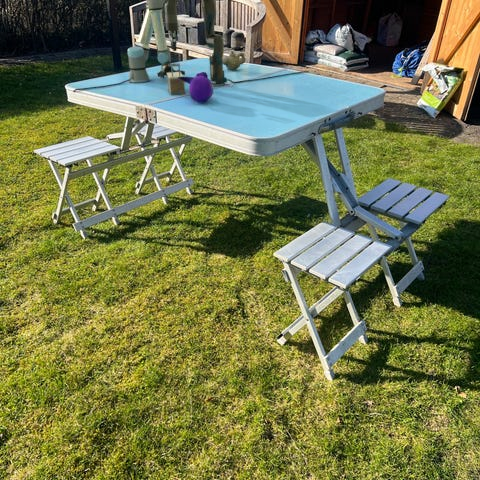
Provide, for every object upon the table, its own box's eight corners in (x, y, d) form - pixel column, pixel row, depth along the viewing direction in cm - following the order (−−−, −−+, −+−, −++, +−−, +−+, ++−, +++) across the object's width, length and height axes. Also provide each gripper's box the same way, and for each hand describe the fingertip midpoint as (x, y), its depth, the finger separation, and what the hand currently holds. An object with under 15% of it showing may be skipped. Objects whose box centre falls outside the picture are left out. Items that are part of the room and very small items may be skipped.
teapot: (225, 72, 363) (224, 52, 355) (218, 70, 371) (218, 50, 364) (248, 69, 372) (247, 50, 364) (241, 67, 381) (240, 48, 373)
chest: (184, 94, 299) (183, 77, 293) (171, 95, 297) (169, 78, 292) (181, 89, 312) (180, 73, 307) (168, 90, 311) (166, 74, 305)
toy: (201, 94, 296) (213, 108, 275) (175, 89, 289) (185, 104, 268) (206, 69, 288) (219, 82, 267) (180, 64, 281) (191, 77, 260)
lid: (183, 77, 293) (182, 63, 289) (169, 78, 291) (168, 64, 287) (180, 73, 307) (179, 59, 303) (166, 74, 305) (165, 60, 301)
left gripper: (185, 74, 345) (190, 79, 327) (152, 77, 339) (156, 82, 322) (184, 64, 341) (189, 69, 324) (151, 66, 336) (155, 71, 318)
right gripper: (179, 22, 272) (181, 51, 280) (176, 20, 284) (178, 48, 292) (166, 23, 271) (169, 52, 279) (164, 21, 283) (166, 49, 291)
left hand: (173, 75), depth 323 cm, fingers open, 13 cm apart
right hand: (173, 50), depth 286 cm, fingers open, 8 cm apart
